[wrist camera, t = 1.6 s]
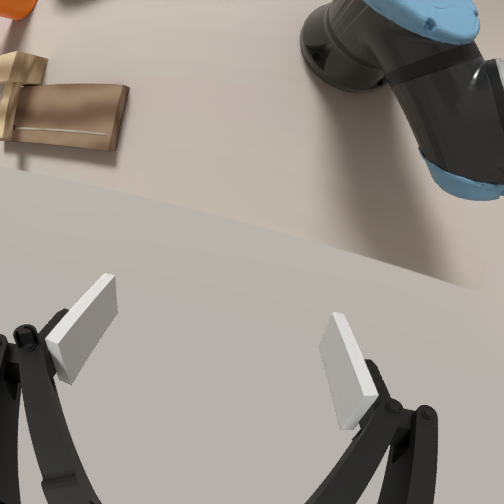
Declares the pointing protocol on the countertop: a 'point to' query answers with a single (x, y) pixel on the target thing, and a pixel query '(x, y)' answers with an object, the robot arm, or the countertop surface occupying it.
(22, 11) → the shaker bottle
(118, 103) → the plank
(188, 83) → the countertop surface
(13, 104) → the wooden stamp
